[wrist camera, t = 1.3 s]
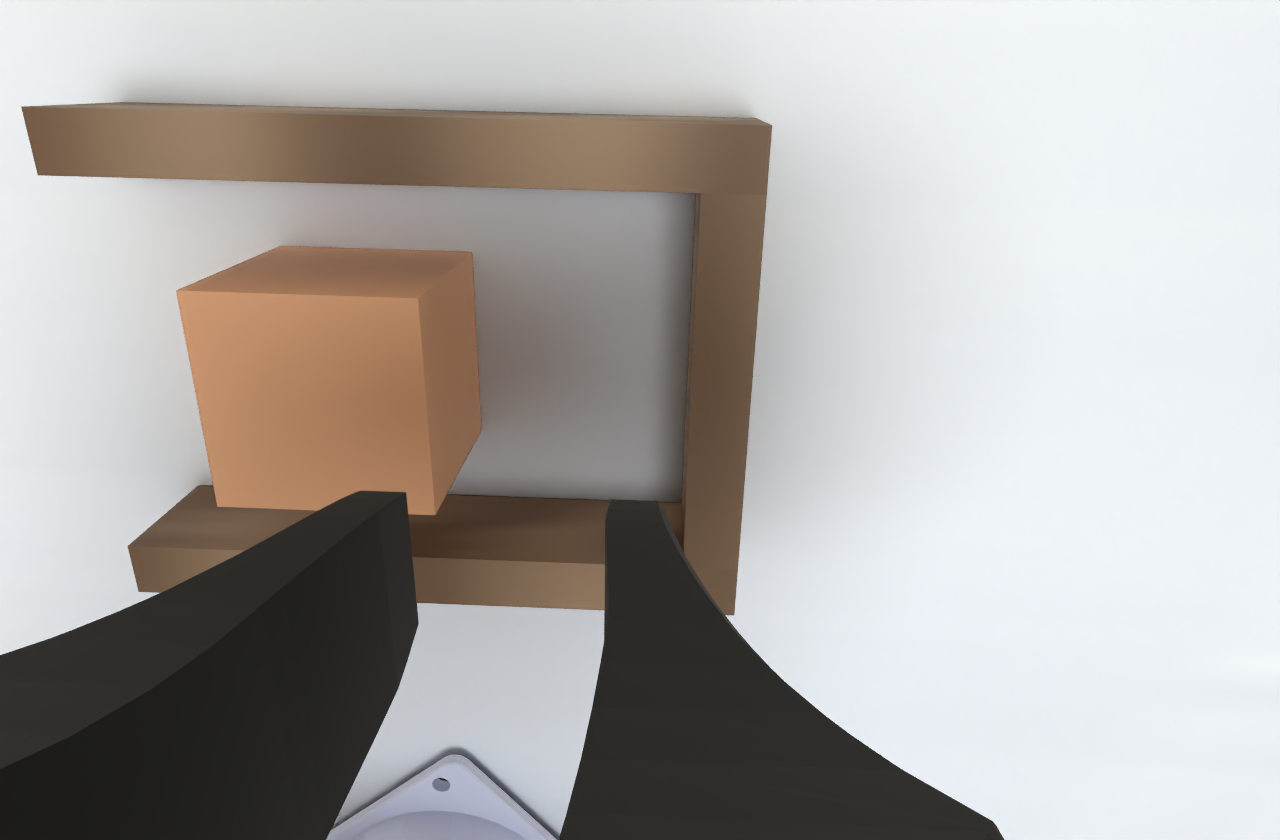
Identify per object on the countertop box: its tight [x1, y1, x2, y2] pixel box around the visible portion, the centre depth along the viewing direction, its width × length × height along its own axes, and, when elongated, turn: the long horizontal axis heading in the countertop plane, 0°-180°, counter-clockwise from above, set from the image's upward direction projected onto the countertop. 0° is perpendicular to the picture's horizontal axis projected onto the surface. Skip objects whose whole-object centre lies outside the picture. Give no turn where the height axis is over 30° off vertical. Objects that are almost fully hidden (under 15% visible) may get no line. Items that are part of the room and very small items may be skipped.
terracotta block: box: [176, 246, 482, 515], centre depth 18 cm, size 4×4×4 cm
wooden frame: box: [22, 102, 772, 615], centre depth 18 cm, size 14×10×3 cm
